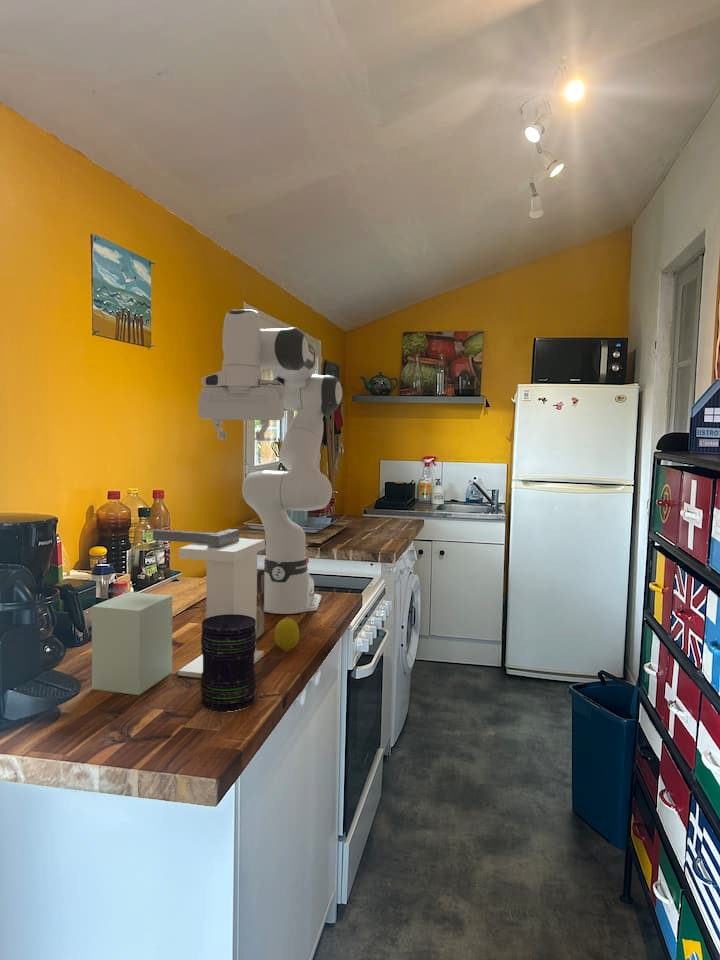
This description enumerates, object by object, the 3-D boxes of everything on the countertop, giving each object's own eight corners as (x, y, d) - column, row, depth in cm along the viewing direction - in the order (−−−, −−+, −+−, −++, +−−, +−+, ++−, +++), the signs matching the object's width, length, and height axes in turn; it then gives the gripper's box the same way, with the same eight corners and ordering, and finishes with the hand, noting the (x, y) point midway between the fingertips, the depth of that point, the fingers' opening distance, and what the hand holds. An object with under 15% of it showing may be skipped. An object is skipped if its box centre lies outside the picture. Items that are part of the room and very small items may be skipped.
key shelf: (213, 650, 147) (214, 536, 145) (263, 655, 144) (265, 539, 142) (178, 675, 131) (179, 548, 129) (233, 681, 128) (234, 552, 127)
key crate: (128, 667, 135) (128, 591, 134) (172, 672, 132) (172, 595, 131) (92, 689, 123) (91, 606, 122) (139, 695, 121) (139, 610, 120)
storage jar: (208, 690, 124) (209, 613, 123) (259, 691, 124) (260, 614, 123) (193, 712, 114) (194, 628, 113) (249, 714, 114) (250, 630, 113)
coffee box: (240, 630, 162) (241, 567, 161) (264, 632, 160) (265, 568, 159) (225, 642, 153) (226, 574, 152) (251, 644, 152) (252, 576, 150)
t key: (167, 536, 144) (167, 525, 144) (239, 540, 140) (239, 529, 140) (142, 542, 134) (142, 531, 134) (218, 548, 131) (219, 536, 130)
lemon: (279, 657, 143) (280, 621, 143) (271, 649, 148) (271, 615, 148) (302, 653, 146) (303, 619, 145) (293, 646, 151) (294, 612, 150)
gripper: (288, 381, 151) (287, 440, 152) (206, 380, 155) (206, 438, 156) (280, 378, 145) (279, 440, 145) (194, 378, 149) (194, 438, 150)
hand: (240, 439), depth 151 cm, fingers open, 8 cm apart
